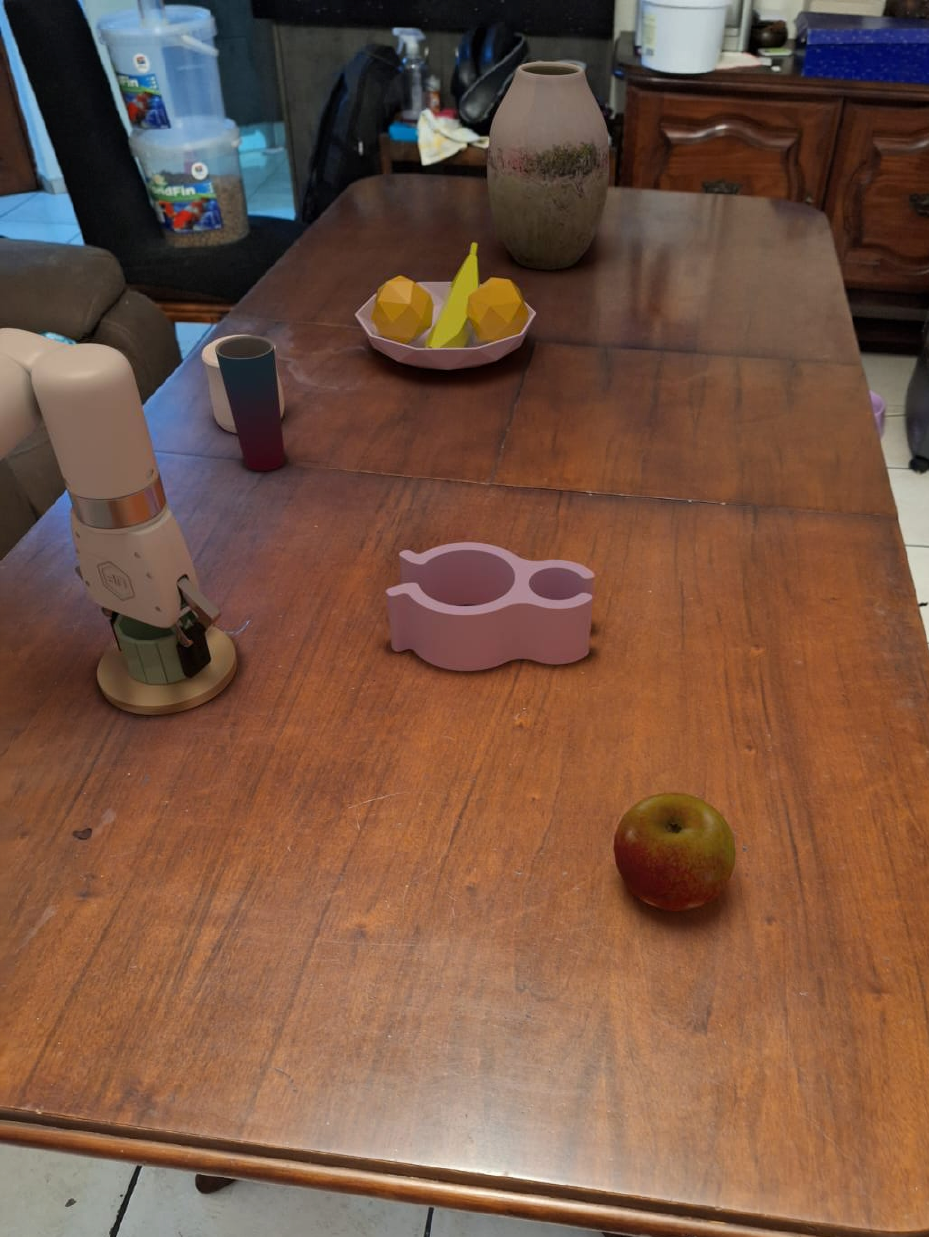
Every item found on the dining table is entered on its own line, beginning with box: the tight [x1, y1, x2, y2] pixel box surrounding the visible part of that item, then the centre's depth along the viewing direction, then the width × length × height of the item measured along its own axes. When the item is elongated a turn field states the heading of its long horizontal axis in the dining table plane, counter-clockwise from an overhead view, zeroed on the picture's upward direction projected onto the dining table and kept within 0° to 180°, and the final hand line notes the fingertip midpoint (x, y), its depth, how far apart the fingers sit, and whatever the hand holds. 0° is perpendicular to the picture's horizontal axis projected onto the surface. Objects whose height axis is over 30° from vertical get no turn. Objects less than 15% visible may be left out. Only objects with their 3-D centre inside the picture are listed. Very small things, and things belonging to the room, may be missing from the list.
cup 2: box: [215, 334, 286, 472], centre depth 126 cm, size 7×7×15 cm
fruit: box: [613, 792, 737, 912], centre depth 80 cm, size 10×9×8 cm
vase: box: [486, 61, 610, 271], centre depth 178 cm, size 21×21×30 cm
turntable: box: [96, 626, 238, 716], centre depth 100 cm, size 13×13×1 cm
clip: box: [385, 541, 595, 672], centre depth 103 cm, size 20×12×7 cm, turn 85°
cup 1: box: [200, 334, 286, 435], centre depth 136 cm, size 10×10×10 cm
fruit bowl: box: [354, 241, 537, 371], centre depth 154 cm, size 28×27×11 cm
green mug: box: [114, 605, 193, 684], centre depth 99 cm, size 10×7×5 cm
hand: (165, 655), depth 99 cm, fingers closed on green mug, 7 cm apart
